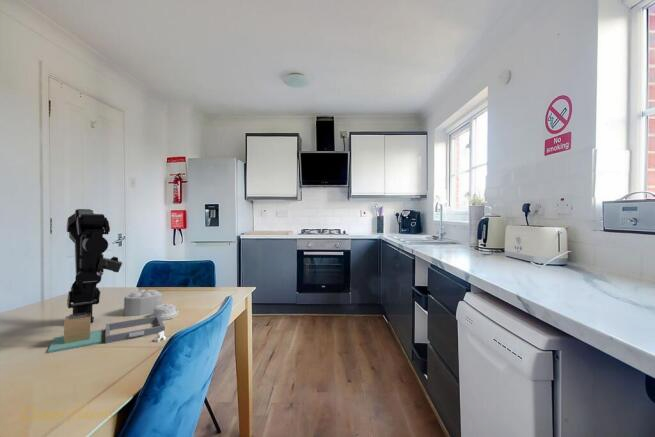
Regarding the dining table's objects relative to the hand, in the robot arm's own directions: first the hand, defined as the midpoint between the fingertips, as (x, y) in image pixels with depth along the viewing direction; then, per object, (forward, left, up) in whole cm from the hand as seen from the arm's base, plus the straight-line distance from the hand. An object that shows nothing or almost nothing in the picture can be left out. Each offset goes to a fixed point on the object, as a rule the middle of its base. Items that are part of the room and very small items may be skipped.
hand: (90, 298), depth 99 cm
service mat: (+6, -3, -12) cm, 13 cm away
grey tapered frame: (+6, +12, -12) cm, 18 cm away
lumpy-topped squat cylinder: (-18, +17, -12) cm, 27 cm away
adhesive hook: (+18, +18, -12) cm, 28 cm away
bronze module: (+6, -3, -11) cm, 13 cm away
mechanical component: (-6, +23, -12) cm, 27 cm away
